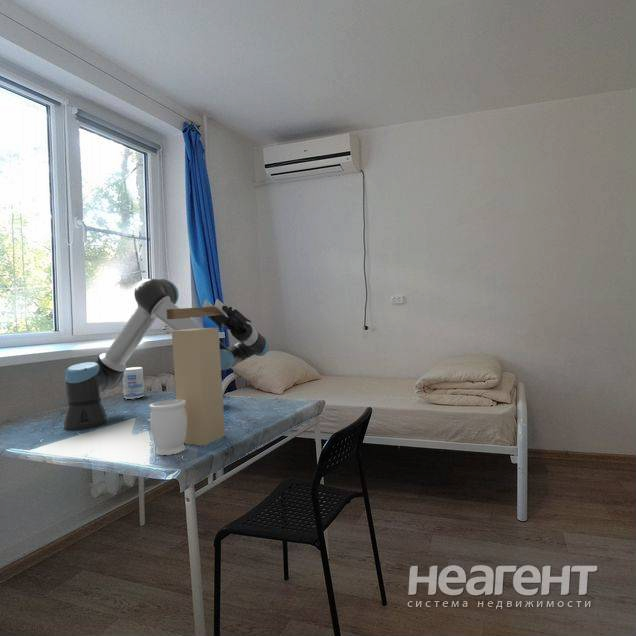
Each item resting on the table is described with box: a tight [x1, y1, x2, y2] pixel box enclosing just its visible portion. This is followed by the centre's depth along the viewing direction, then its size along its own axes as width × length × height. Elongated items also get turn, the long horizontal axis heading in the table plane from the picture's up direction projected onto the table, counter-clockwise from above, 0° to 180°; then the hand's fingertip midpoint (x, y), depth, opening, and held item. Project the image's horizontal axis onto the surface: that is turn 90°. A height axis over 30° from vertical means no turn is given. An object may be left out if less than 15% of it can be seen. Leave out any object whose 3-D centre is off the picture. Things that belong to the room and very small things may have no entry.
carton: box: [171, 327, 226, 446], centre depth 155 cm, size 10×11×36 cm
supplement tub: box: [122, 366, 145, 400], centre depth 234 cm, size 10×10×15 cm
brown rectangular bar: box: [166, 305, 229, 319], centre depth 156 cm, size 4×27×3 cm, turn 157°
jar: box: [148, 398, 187, 456], centre depth 144 cm, size 11×10×15 cm
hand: (210, 303), depth 162 cm, fingers closed on brown rectangular bar, 4 cm apart
